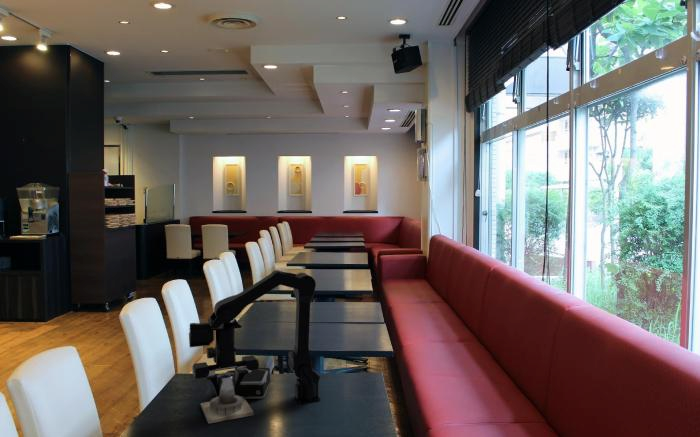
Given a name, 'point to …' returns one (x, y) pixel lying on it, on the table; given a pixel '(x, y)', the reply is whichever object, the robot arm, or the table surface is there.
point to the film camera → (254, 383)
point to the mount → (226, 409)
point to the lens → (226, 387)
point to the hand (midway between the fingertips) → (226, 394)
